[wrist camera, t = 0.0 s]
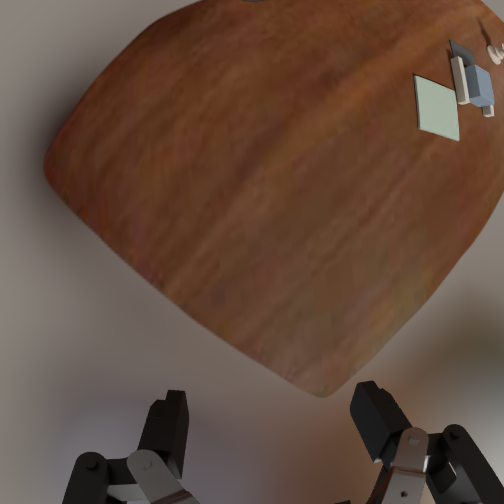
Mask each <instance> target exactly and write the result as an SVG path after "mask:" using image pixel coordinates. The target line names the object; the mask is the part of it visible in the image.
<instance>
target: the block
mask: <svg viewBox="0 0 504 504" xmlns="http://www.w3.org/2000/svg"><path fill="white" fill-rule="evenodd" d="M464 71H465V76H466V82H467V88H468V94H469V101H470V103H472V104H474V105H476V106H478V107H482V106H487V105H493V104H495V103H494V96H493V90H492V85H491V80H490V75H489V73H488V72H486V71H485V70H483V69H482V68H480V67H478V66H477V65H475V64H473V65H471V66H468V67H465V68H464Z"/></svg>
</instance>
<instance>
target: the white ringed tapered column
mask: <svg viewBox="0 0 504 504" xmlns="http://www.w3.org/2000/svg"><path fill="white" fill-rule="evenodd" d="M487 51H488V54H489V56H490V58H491V59H492V61H493V62H494V63H495V64H497V65H498V64H500V59H503V56H504V43H503V44H502V48H499V49H498V48H497V47H496V48H495V49H494V48H493V47H492V46H490V45H489V46H487Z"/></svg>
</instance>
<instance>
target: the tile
mask: <svg viewBox="0 0 504 504" xmlns="http://www.w3.org/2000/svg"><path fill="white" fill-rule="evenodd" d="M414 82H415V90H416V101H417V113H418V129H421V130H424V131H428V132H431V133H435V134H438V135H441V136H444V137H447V138H450V139H453V140H456V141H459V127H458V115H457V105H456V97H455V91H453V90H450V89H448V88H446V87H444V86H441V85H439V84H437V83H434V82H432V81H429V80H427V79H424V78H421V77H419V76H416V75H415V76H414Z"/></svg>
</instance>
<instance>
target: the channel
mask: <svg viewBox="0 0 504 504" xmlns="http://www.w3.org/2000/svg"><path fill="white" fill-rule="evenodd" d="M449 41H450V45H451V49H452V53H453V57H454V58H452V59H450V60H451V65H452V70H453V75H454V81H455V87H456V94H457V102H458V103H459V104H461V105H462V104H467V103H470V101H469V94H468V88H467V82H466V76H465V71H464V66H463V65H465V66H467V67H468V66H471V65H473V64H475V60H474V56H473V53H472V52H470V51H469V50H467V49H465V48H464V47H462V46H460V45H458V44H457V43H455V42H453V41H451V40H449ZM475 65H476V64H475ZM482 109H483V115H484V116H485V117H490V116H494V110H493V105H487V106H482Z"/></svg>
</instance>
